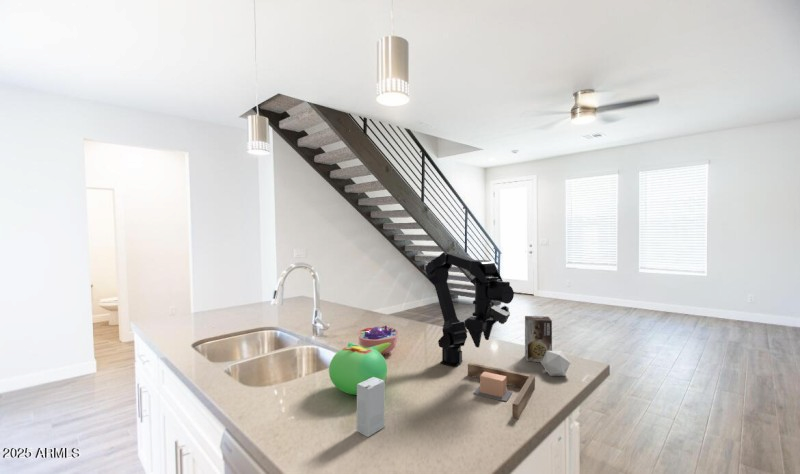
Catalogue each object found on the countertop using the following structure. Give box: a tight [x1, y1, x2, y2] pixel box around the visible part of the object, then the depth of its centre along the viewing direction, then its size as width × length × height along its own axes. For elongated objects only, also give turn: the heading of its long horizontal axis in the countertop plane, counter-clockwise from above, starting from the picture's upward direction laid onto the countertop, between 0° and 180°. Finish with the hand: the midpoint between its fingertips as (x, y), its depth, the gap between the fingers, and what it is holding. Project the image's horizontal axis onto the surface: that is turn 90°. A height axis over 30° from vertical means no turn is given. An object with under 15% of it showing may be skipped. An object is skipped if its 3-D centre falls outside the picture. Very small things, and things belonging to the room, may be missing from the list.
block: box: [479, 372, 507, 398], centre depth 111 cm, size 4×7×5 cm, turn 59°
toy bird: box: [328, 341, 391, 396], centre depth 112 cm, size 18×17×15 cm
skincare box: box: [356, 377, 386, 438], centre depth 91 cm, size 6×4×12 cm
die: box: [540, 350, 571, 377], centre depth 126 cm, size 8×9×10 cm
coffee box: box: [524, 315, 553, 363], centre depth 140 cm, size 9×6×16 cm
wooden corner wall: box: [467, 362, 536, 421], centre depth 111 cm, size 22×22×4 cm
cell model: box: [357, 325, 399, 356], centre depth 148 cm, size 17×20×11 cm
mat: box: [473, 385, 514, 403], centre depth 111 cm, size 10×7×1 cm
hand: (482, 343), depth 123 cm, fingers open, 9 cm apart
